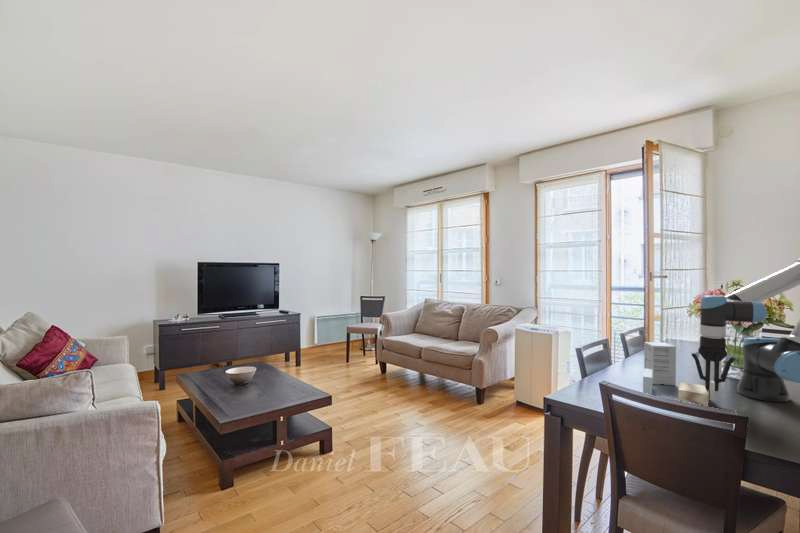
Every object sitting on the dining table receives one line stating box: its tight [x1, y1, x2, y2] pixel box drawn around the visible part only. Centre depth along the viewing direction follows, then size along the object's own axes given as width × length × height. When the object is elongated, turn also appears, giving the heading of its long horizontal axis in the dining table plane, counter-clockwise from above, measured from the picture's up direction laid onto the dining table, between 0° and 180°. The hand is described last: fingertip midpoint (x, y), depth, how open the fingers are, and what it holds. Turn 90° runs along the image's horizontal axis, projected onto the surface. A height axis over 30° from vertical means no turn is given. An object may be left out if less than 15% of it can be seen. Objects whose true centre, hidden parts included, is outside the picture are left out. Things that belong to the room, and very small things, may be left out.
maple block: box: [677, 381, 710, 407], centre depth 149 cm, size 9×12×5 cm
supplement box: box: [643, 341, 677, 386], centre depth 172 cm, size 10×9×17 cm
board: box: [642, 367, 653, 395], centre depth 158 cm, size 3×14×8 cm, turn 146°
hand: (711, 398), depth 146 cm, fingers closed
